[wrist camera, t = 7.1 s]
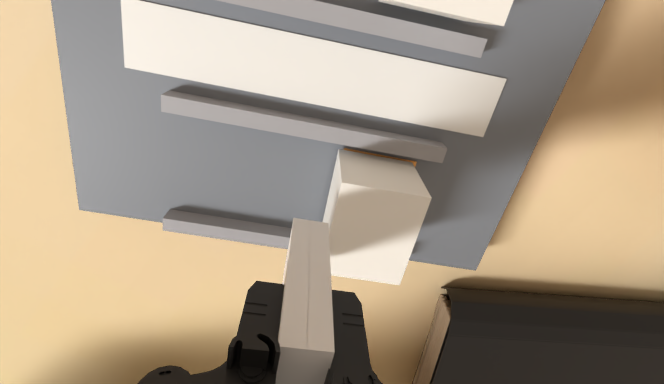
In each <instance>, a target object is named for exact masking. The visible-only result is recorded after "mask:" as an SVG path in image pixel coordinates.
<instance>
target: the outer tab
mask: <svg viewBox="0 0 664 384" xmlns="http://www.w3.org/2000/svg"><path fill="white" fill-rule="evenodd" d="M513 1H514V0H379V1H378V2H383V3H387V4H391V5H396V6H400V7H404V8H409V9H413V10H418V11H422V12H426V13H431V14H435V15H439V16H444V17H448V18H453V19H457V20H461V21H466V22H474V23H482V24H490V25H499V26H504V25H505V22H506V19H507V17H508V14H509V11H510V9H511V6H512V4H513Z"/></svg>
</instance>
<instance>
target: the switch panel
mask: <svg viewBox="0 0 664 384" xmlns="http://www.w3.org/2000/svg"><path fill="white" fill-rule="evenodd" d="M378 1H379V0H51V3H52V11H53V18H54V26H55V33H56V41H57V48H58V55H59V63H60V70H61V78H62V85H63V92H64V100H65V107H66V115H67V122H68V130H69V137H70V144H71V152H72V159H73V167H74V174H75V181H76V189H77V196H78V204H79V210H83V211H90V212H96V213H103V214H110V215H116V216H123V217H129V218H136V219H142V220H149V221H155V222H162V223H163V230H164V231H170V232H177V233H184V234H190V235H197V236H204V237H210V238H217V239H223V240H230V241H237V242H243V243H250V244H257V245H263V246H270V247H277V248H283V249H288V246H289V241H290V235H291V229H292V224H293V218H298V219H305V220H312V221H318V222H323V217H324V213H325V208H326V204H327V199H328V195H329V190H330V186H331V181H332V177H333V172H334V168H335V163H336V159H337V154H338V149H341V150H347V151H352V152H358V153H363V154H369V155H374V156H380V157H385V158H391V159H396V160H402V161H407V162H412V163H413V165H414V167H415V169H416V170H417V172H418V174H419V176H420V178H421V179H422V181H423V183H424V185H425V187H426V189H427V190H428V192H429V194H430V196H431V198H432V199H431V201H430V204H429V207H428V210H427V212H426V215H425V218H424V220H423V223H422V226H421V229H420V231H419V234H418V237H417V239H416V242H415V245H414V248H413V250H412V253H411V256H410V258H409V260H410V261H417V262H423V263H430V264H436V265H443V266H449V267H456V268H463V269H469V270H476V269H477V267H478V265H479V263H480V261H481V259H482V256H483V254H484V252H485V250H486V248H487V246H488V244H489V242H490V240H491V238H492V236H493V234H494V231H495V229H496V227H497V225H498V223H499V221H500V219H501V217H502V215H503V213H504V211H505V209H506V207H507V204H508V202H509V200H510V198H511V196H512V194H513V192H514V190H515V188H516V186H517V184H518V182H519V179H520V177H521V175H522V173H523V171H524V169H525V167H526V165H527V163H528V161H529V159H530V157H531V154H532V152H533V150H534V148H535V146H536V144H537V142H538V140H539V138H540V136H541V134H542V132H543V129H544V127H545V125H546V123H547V121H548V119H549V117H550V115H551V113H552V111H553V109H554V107H555V105H556V102H557V100H558V98H559V96H560V94H561V92H562V90H563V88H564V86H565V84H566V82H567V80H568V77H569V75H570V73H571V71H572V69H573V67H574V65H575V63H576V61H577V59H578V57H579V55H580V52H581V50H582V48H583V46H584V44H585V42H586V40H587V38H588V36H589V34H590V32H591V30H592V28H593V25H594V23H595V21H596V19H597V17H598V15H599V13H600V11H601V9H602V7H603V5H604V3H605V0H514V1H513V4H512V6H511V9H510V11H509V14H508V17H507V19H506V22H505V25H504V26H499V25H490V24H482V23H474V22H466V21H461V20H457V19H453V18H448V17H444V16H439V15H435V14H431V13H426V12H422V11H418V10H413V9H409V8H404V7H400V6H396V5H391V4H387V3H383V2H378Z"/></svg>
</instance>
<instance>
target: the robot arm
mask: <svg viewBox="0 0 664 384" xmlns="http://www.w3.org/2000/svg"><path fill="white" fill-rule="evenodd" d="M138 384H383V383H381V382H380V381H379V379H378V378H377V375H376V374H375V373H374V372H373V370H372V368H371V365H370V359H369V352H368V346H367V339H366V332H365V328H364V318H363V312H362V305H361V302H360V301H359V299H358V298H357V296H356V295H355V293H352V292H345V291H337V290H332V287H331V266H330V246H329V225H328V223H325V222H318V221H312V220H305V219H298V218H293V224H292V229H291V235H290V241H289V246H288V252H287V258H286V263H285V269H284V277H283V284H277V283H269V282H261V281H256V282H255V283H254V284H253V285H252V286H251V288H250V289H249V290H248V293H247V297H246V301H245V305H244V308H243V313H242V316H241V320H240V324H239V328H238V332H237V336H236V337H234V338H233V339H232V341H231V343H230V345H229V348H228V358H227V361H226V362H225V363H224V364H223V365H221V366H220V367H218V368H216V369H214V370H211V371H208V372H204V373H199V374H194V375H190V374H189V372H188V371H186V370H184V369H183V368H181V367H177V366H165V367H160V368H157V369H155V370H153V371H151V372H149V373H148V374H147V375H146V376H145V377H144V378H142V379H141V380H140V381H139V383H138Z"/></svg>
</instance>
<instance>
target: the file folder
mask: <svg viewBox="0 0 664 384" xmlns="http://www.w3.org/2000/svg"><path fill="white" fill-rule="evenodd" d="M442 288H444V289H446V290H447V292H448V295H449V298H450V300H451V301H450V300H447V296H444V295H443V294H441V295H440V296H439V299H438V302H437V306H436V310H435V314H434V319H433V322H432V325H431V329H430V332H429V335H428V338H427V341H426V344H425V347H424V350H423V353H422V356H421V359H420V362H419V365H418V368H417V371H416V374H415V377H414V380H413V383H412V384H664V303H663V302H649V301H634V300H620V299H605V298H591V297H577V296H562V295H548V294H533V293H519V292H505V291H490V290H476V289H461V288H447V287H442Z"/></svg>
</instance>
